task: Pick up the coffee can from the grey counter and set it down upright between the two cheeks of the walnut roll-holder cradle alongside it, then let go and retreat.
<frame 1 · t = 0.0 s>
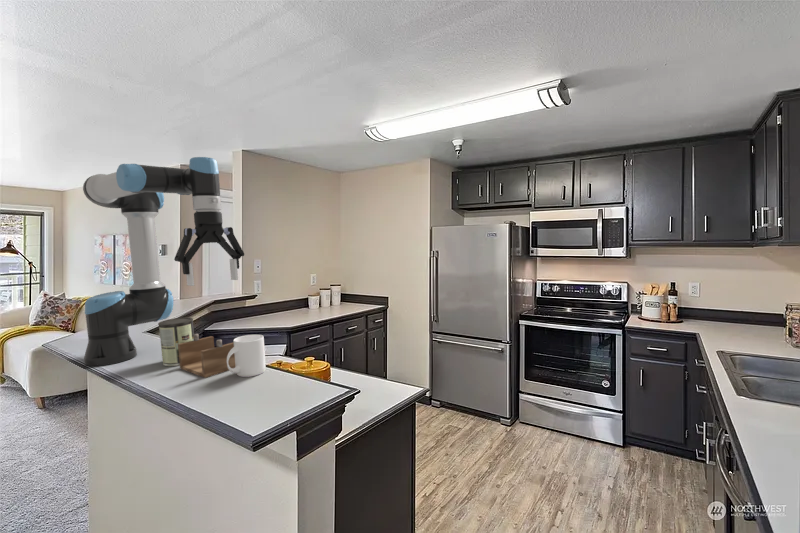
hand: (213, 282, 122), 28 cm above the table, fingers open, 13 cm apart
mug: (246, 374, 123), on the table
coffee can: (179, 361, 138), on the table
cradle: (209, 367, 130), on the table
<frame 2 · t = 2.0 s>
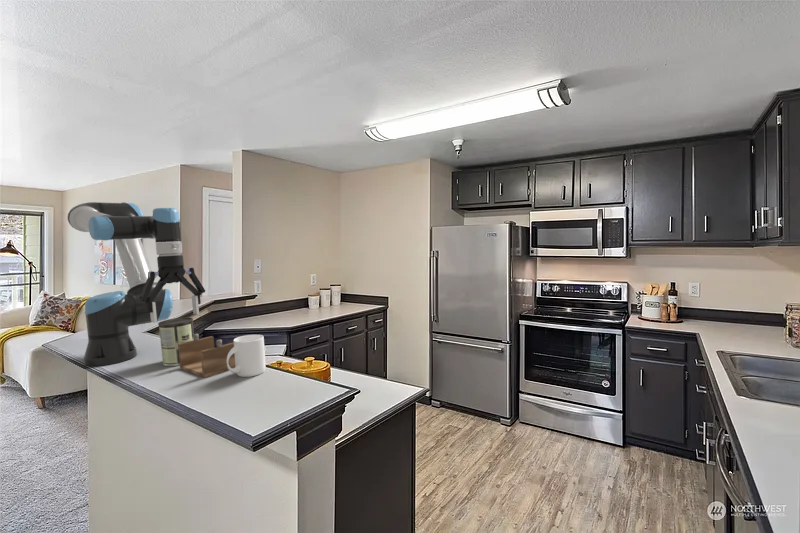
hand: (176, 318, 137), 15 cm above the table, fingers open, 13 cm apart
nothing on the table moved.
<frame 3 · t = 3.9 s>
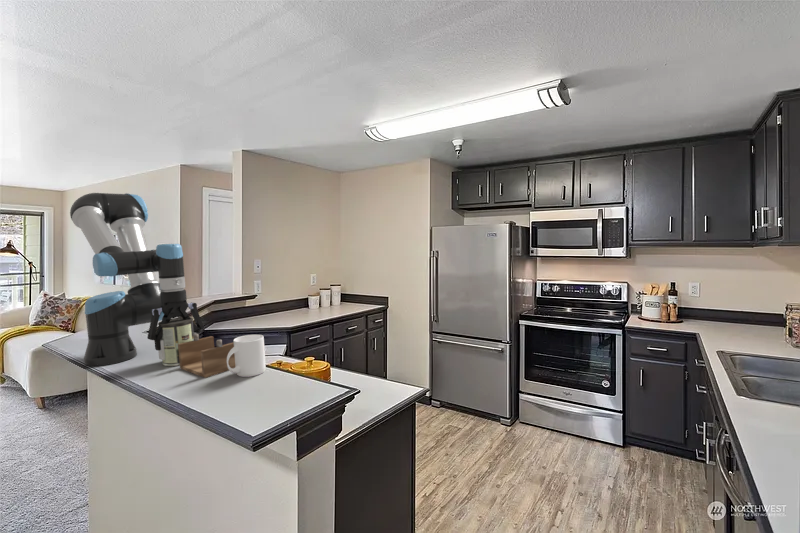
hand: (179, 354, 138), 2 cm above the table, fingers closed on coffee can, 10 cm apart
coffee can: (179, 361, 138), on the table, touching gripper
everything else where it was.
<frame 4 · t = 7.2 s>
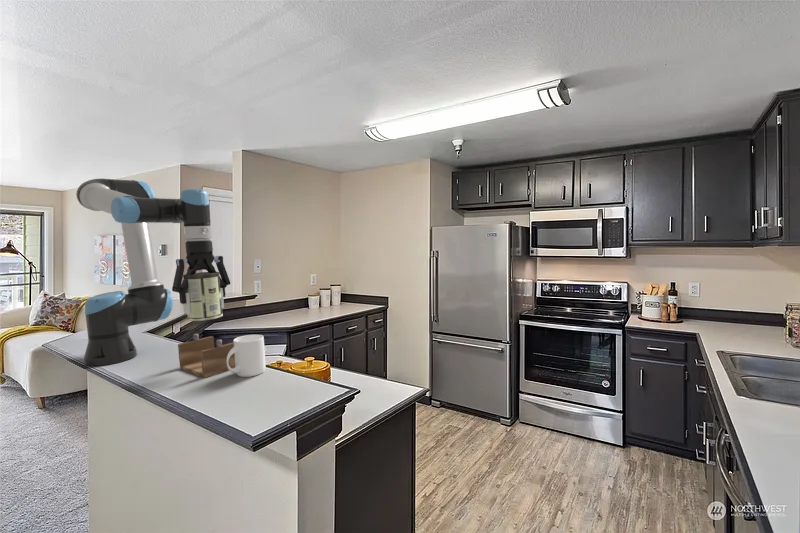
hand: (204, 310, 128), 19 cm above the table, fingers closed on coffee can, 10 cm apart
coffee can: (205, 318, 128), point 16 cm above the table, touching gripper
everything else where it was.
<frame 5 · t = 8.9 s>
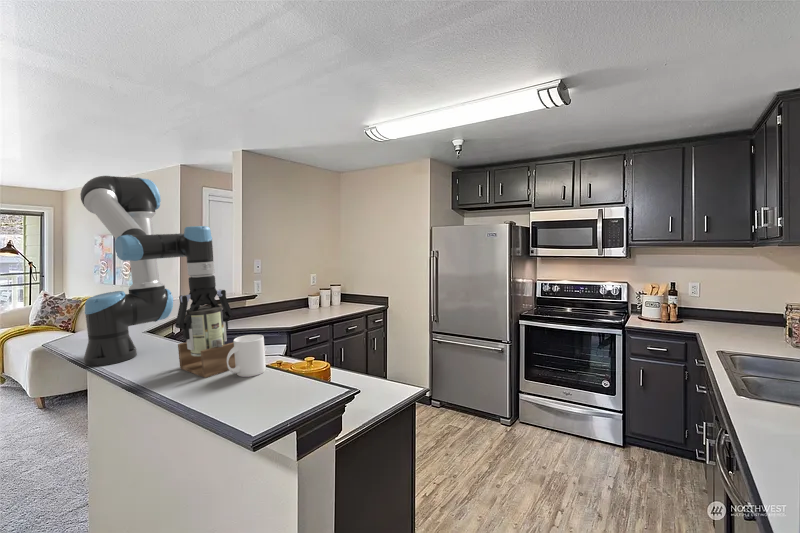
hand: (207, 344, 129), 7 cm above the table, fingers closed on coffee can, 10 cm apart
coffee can: (208, 352, 129), point 5 cm above the table, touching gripper
everything else where it was.
when the fingers open (5 cm above the table, at t = 10.4 s): coffee can drops 2 cm, resting on cradle.
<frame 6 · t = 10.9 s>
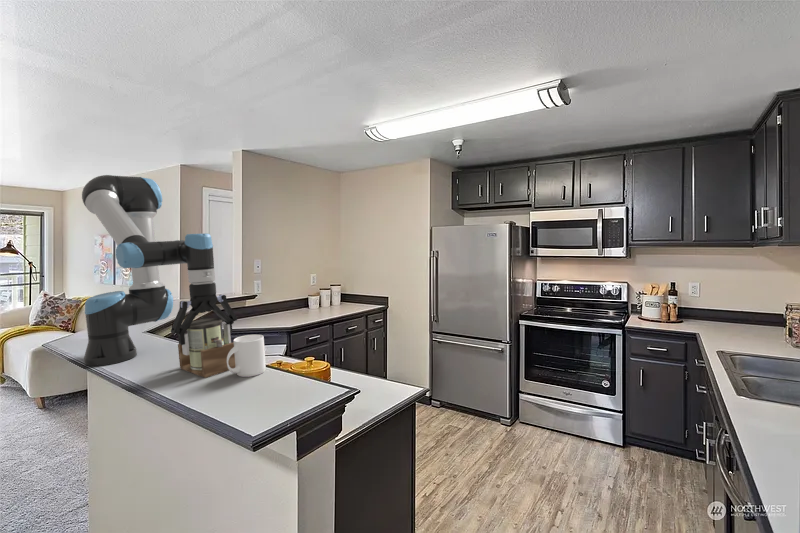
hand: (207, 348, 129), 6 cm above the table, fingers open, 13 cm apart
coffee can: (208, 365, 130), point 1 cm above the table, touching cradle
everything else where it was.
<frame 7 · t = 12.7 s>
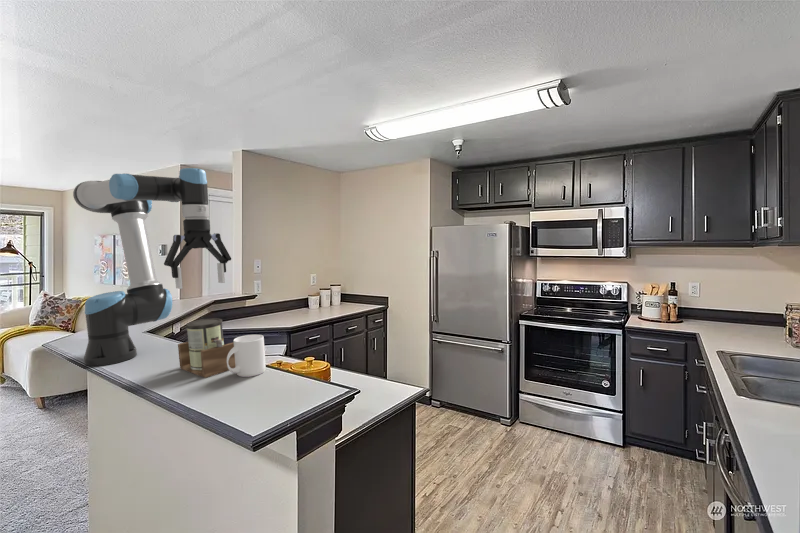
hand: (201, 285, 130), 26 cm above the table, fingers open, 13 cm apart
nothing on the table moved.
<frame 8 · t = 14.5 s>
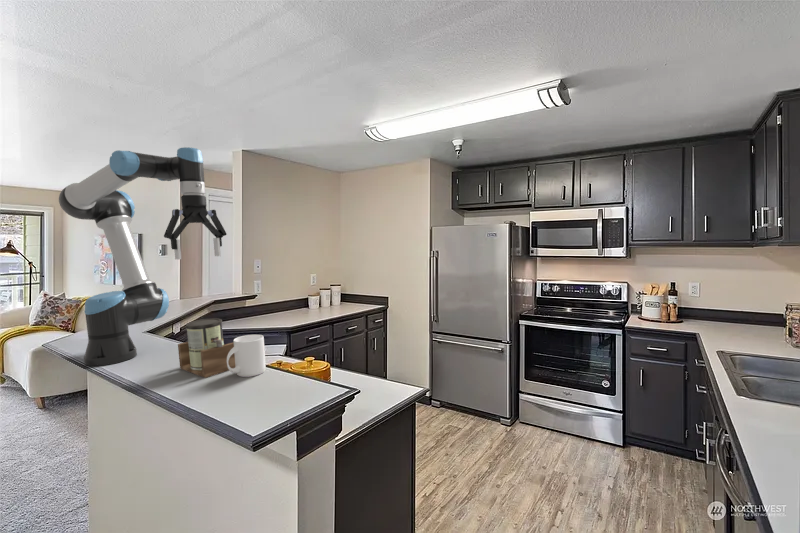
hand: (198, 257, 139), 35 cm above the table, fingers open, 13 cm apart
nothing on the table moved.
at the end: coffee can inside the target area on the cradle (0.4 cm from its centre), point 0.8 cm above the cradle's base; coffee can tilted 0°; the gripper is holding nothing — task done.
